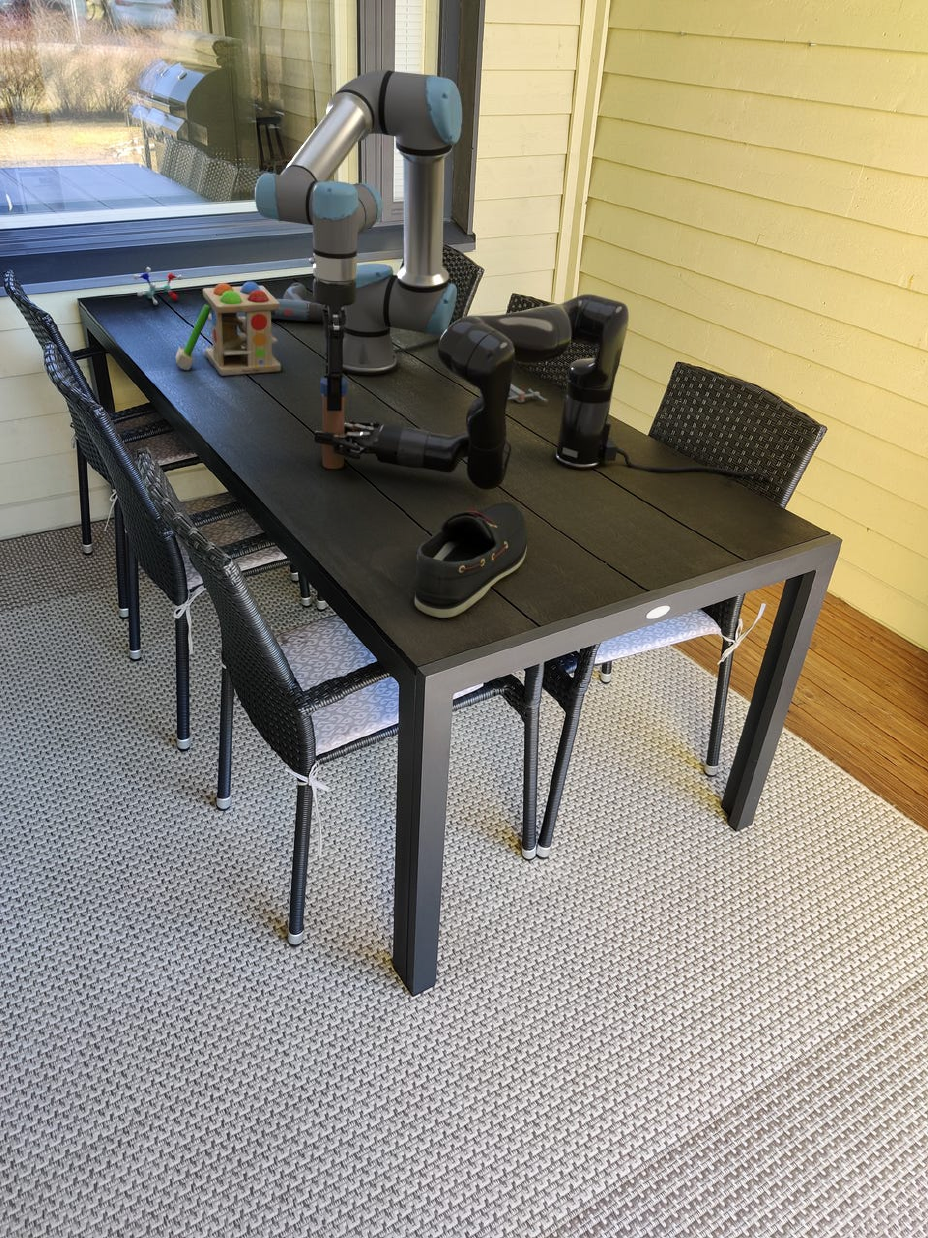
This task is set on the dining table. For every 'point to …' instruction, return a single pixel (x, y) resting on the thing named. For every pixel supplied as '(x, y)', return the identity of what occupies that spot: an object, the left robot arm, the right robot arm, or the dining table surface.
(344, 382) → the lid
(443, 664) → the dining table surface
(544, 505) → the dining table surface
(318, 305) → the power drill
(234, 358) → the pounding bench toy
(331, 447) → the jar
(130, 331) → the dining table surface
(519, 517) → the boat shoe
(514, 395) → the clamp
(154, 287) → the molecular model
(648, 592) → the dining table surface
